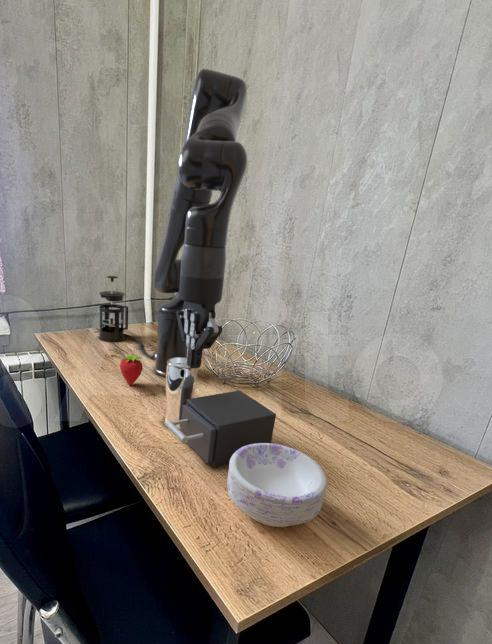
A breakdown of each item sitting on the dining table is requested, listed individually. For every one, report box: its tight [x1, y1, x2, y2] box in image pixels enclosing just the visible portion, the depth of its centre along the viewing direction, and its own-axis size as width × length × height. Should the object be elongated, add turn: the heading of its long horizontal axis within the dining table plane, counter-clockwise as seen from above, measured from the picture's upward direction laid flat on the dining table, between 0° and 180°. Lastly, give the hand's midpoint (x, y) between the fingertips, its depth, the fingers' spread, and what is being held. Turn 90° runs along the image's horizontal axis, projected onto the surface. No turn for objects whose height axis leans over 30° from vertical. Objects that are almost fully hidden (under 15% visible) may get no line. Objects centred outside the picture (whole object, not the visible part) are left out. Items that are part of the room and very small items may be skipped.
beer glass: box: [164, 357, 198, 430], centre depth 89 cm, size 7×7×15 cm
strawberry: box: [119, 351, 144, 386], centre depth 109 cm, size 6×8×10 cm
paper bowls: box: [226, 442, 328, 528], centre depth 65 cm, size 15×15×8 cm
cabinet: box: [186, 389, 277, 469], centre depth 82 cm, size 14×12×9 cm
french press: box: [98, 275, 129, 343], centre depth 146 cm, size 12×9×23 cm
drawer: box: [164, 404, 216, 464], centre depth 81 cm, size 17×11×7 cm, turn 117°
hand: (193, 366), depth 75 cm, fingers closed
